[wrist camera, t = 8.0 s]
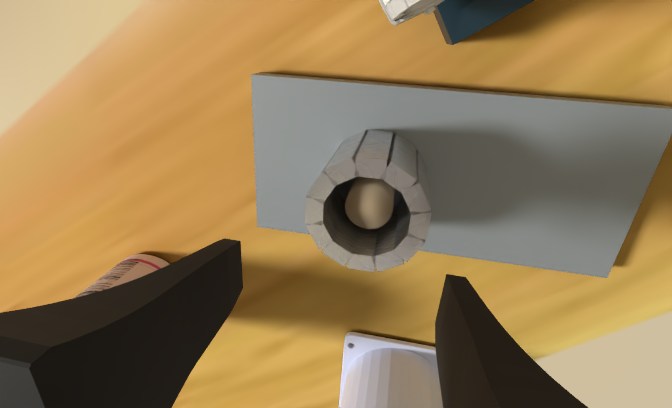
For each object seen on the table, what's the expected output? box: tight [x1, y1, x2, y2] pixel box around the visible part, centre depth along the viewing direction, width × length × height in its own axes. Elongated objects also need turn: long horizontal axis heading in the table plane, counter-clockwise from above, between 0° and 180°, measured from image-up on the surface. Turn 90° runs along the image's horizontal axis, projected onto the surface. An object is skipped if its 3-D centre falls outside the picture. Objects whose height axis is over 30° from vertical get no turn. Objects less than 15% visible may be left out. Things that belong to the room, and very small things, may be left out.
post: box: [345, 176, 395, 229], centre depth 19 cm, size 2×2×4 cm
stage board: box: [251, 73, 672, 278], centre depth 20 cm, size 9×20×1 cm, turn 87°
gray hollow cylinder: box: [305, 129, 432, 272], centre depth 18 cm, size 5×5×5 cm
